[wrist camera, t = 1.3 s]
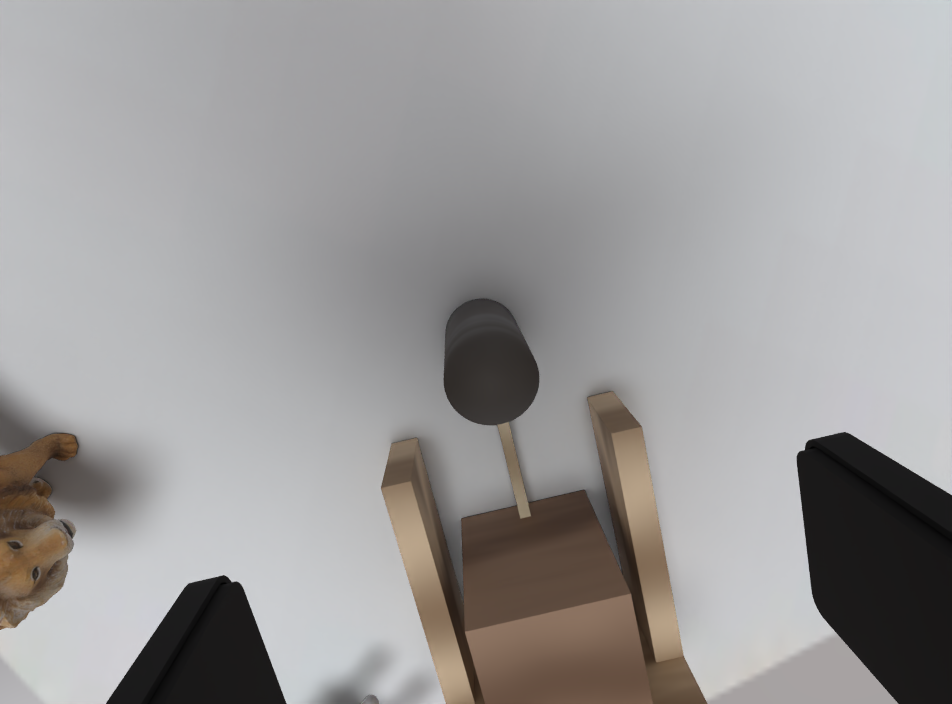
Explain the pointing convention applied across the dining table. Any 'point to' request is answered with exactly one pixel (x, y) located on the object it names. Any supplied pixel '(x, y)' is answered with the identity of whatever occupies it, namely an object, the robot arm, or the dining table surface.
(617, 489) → the wooden stand
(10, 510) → the lion figurine
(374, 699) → the power adapter
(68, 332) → the dining table surface
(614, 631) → the wooden lever toy
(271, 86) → the dining table surface
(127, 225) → the dining table surface
